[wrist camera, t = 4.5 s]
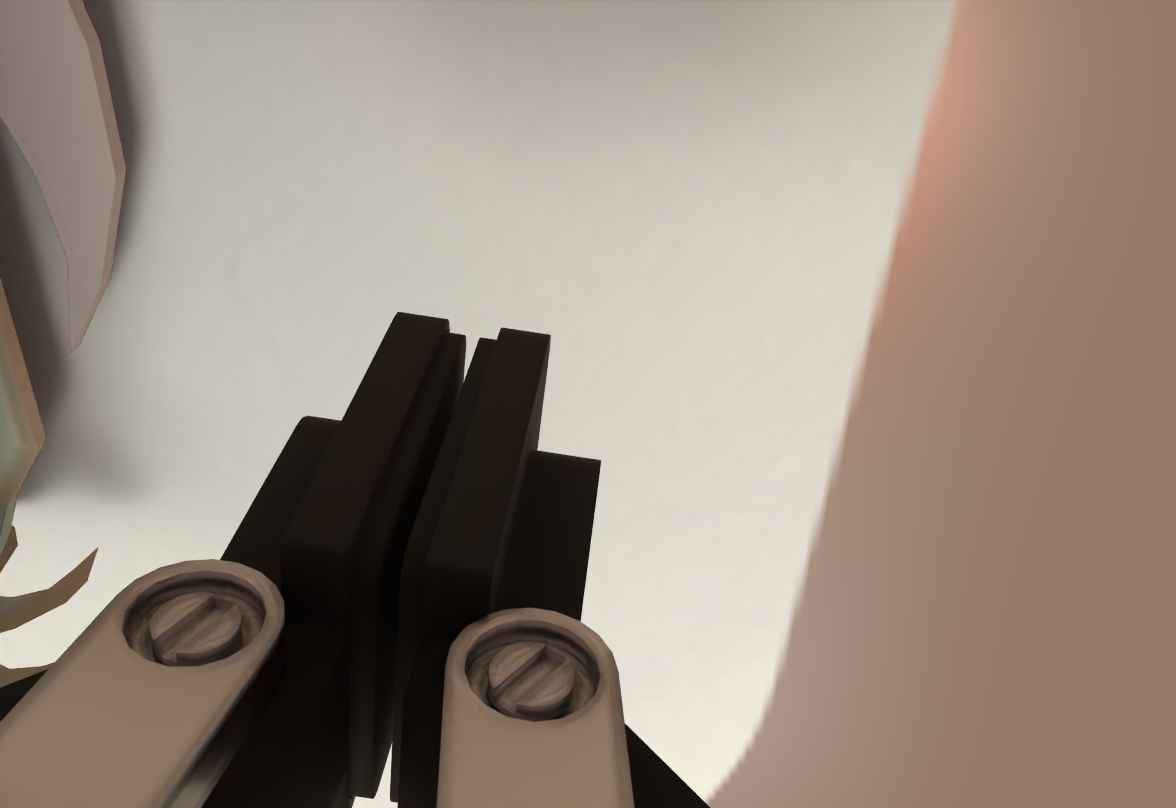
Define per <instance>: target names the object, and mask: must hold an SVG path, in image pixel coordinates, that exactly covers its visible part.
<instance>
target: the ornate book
mask: <svg viewBox="0 0 1176 808" xmlns="http://www.w3.org/2000/svg"><path fill="white" fill-rule="evenodd" d="M0 116H1V118H2V120H3V121H4V123H5V125H6V126H7V128H8V130H9V132H10V133H11V135H12V137H13V138H14V140H15V142H16V143H17V145H18V147H19V149H20V150H21V152H22V154H23V155H24V157H25V159H26V160H27V162H28V164H29V166H30V167H31V169H32V171H33V172H34V174H35V176H36V178H37V181H38V184H39V186H40V189H41V191H42V194H43V197H44V199H45V202H46V204H47V207H48V210H49V212H50V215H51V218H52V220H53V223H54V225H55V228H56V231H57V233H58V236H59V239H60V241H61V244H62V246H63V249H64V252H65V254H66V257H67V269H68V295H69V322H70V349H71V353H72V352H73V351H74V350H75V349H76V348H77V347H78V346H79V345H80V344H81V342H82V339H83V337H84V335H85V332H86V330H87V328H88V326H89V323H90V321H91V319H92V317H93V314H94V312H95V310H96V308H97V305H98V303H99V301H100V299H101V296H102V294H103V292H104V290H105V287H106V285H107V283H108V281H109V278H110V276H111V271H112V264H113V257H114V250H115V243H116V236H117V230H118V223H119V216H120V209H121V202H122V195H123V188H124V181H125V174H126V166H125V161H124V156H123V151H122V147H121V142H120V137H119V132H118V127H117V122H116V118H115V113H114V108H113V103H112V98H111V93H110V89H109V84H108V79H107V74H106V69H105V64H104V60H103V55H102V50H101V45H100V40H99V38H98V36H97V33H96V31H95V29H94V27H93V24H92V22H91V20H90V18H89V15H88V13H87V11H86V9H85V7H84V4H83V2H82V0H0ZM45 436H46V435H45V431H44V428H43V424H42V421H41V417H40V414H39V410H38V407H37V403H36V400H35V396H34V393H33V389H32V386H31V382H30V379H29V376H28V372H27V369H26V365H25V362H24V358H23V355H22V351H21V348H20V344H19V341H18V337H17V334H16V330H15V327H14V323H13V320H12V316H11V313H10V309H9V306H8V302H7V299H6V295H5V292H4V288H3V285H2V281H1V278H0V573H1V571H2V569H3V568H4V566H5V565H6V563H7V561H8V560H9V558H10V557H11V555H12V554H13V552H14V550H15V549H16V547H17V546H18V543H17V537H16V532H15V527H13V526H12V521H13V516H14V511H15V505H16V500H17V495H18V491H19V489H20V487H21V486H22V484H23V482H24V480H25V478H26V476H27V474H28V472H29V470H30V469H31V467H32V465H33V463H34V461H35V459H36V457H37V455H38V453H39V451H40V450H41V448H42V446H43V443H44V439H45ZM97 550H98V548H97V549H96V550H95V551H93V552H92V553H91V554H90V555H89V556H88V557H87V558H86V559H85V560H84V561H82V562H81V563H80V564H79V565H78V566H77V567H76V568H75V569H74V570H72V571H71V572H70V573H69V574H67V575H66V576H65V577H63V578H62V579H61V580H60V581H58V582H57V583H56V584H54V585H53V586H52V587H51V588H49V589H46V590H42V591H38V592H34V593H29V594H25V595H21V596H16V597H2V596H0V633H1V632H5V631H8V630H12V629H15V628H17V627H19V626H21V625H23V624H25V623H27V622H29V621H31V620H33V619H35V618H37V617H39V616H41V615H43V614H45V613H47V612H48V611H50V610H52V609H54V608H56V607H58V606H60V605H62V604H64V603H66V602H67V601H68V600H69V599H70V598H71V597H72V596H73V595H74V594H75V593H76V592H77V591H78V590H79V589H80V588H81V587H82V586H83V585H84V584H85V583H86V582H87V580H88V577H89V574H90V571H91V568H92V565H93V562H94V559H95V556H96V553H97ZM54 663H55V662H54ZM54 663H51V664H48V665H45V666H40V667H28V668H16V669H9V668H7V667H4V666H2V665H0V687H3V686H5V685H8V684H11V683H13V682H16V681H18V680H21V679H23V678H26V677H29V676H31V675H34V674H36V673H39V672H41V671H44V670H47V669H49V668H50V667H51V666H52V665H53V664H54Z"/></svg>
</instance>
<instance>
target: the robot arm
mask: <svg viewBox="0 0 1176 808" xmlns="http://www.w3.org/2000/svg"><path fill="white" fill-rule="evenodd" d="M550 339H551V335H548V334H541V333H535V332H528V331H521V330H515V329H508V328H501V329H500V332H499V335H498V338H497V340H494V339H487V338H480V339H479V341H478V344H477V347H476V349H475V352H474V355H473V358H472V361H471V364H470V366H469V369H468V372H467V375H466V378H465V381H464V383H463V380H464V366H465V353H466V336H465V335H461V334H454V333H450V328H449V321H448V319H442V318H436V317H429V316H423V315H416V314H409V313H403V312H397V314H396V315H395V317H394V319H393V321H392V323H391V324H390V326H389V328H388V330H387V332H386V334H385V336H384V338H383V340H382V342H381V344H380V346H379V348H378V350H377V352H376V354H375V356H374V358H373V360H372V362H371V364H370V366H369V368H368V370H367V372H366V374H365V376H364V378H363V380H362V382H361V383H360V385H359V387H358V389H357V391H356V393H355V395H354V397H353V399H352V401H351V403H350V405H349V407H348V409H347V411H346V413H345V415H344V417H343V419H342V421H339V420H333V419H326V418H319V417H313V416H306V417H303V418H302V419H301V420H300V422H299V423H298V424H297V426H296V427H295V429H294V431H293V433H292V434H291V436H290V438H289V440H288V441H287V443H286V445H285V447H284V448H283V450H282V452H281V454H280V455H279V457H278V459H277V461H276V462H275V464H274V466H273V468H272V469H271V471H270V473H269V475H268V477H267V478H266V480H265V482H264V484H263V485H262V487H261V489H260V491H259V492H258V494H257V496H256V498H255V499H254V501H253V503H252V505H251V506H250V508H249V510H248V512H247V513H246V515H245V517H244V519H243V520H242V522H241V524H240V526H239V527H238V529H237V531H236V533H235V534H234V536H233V538H232V540H231V542H230V543H229V545H228V547H227V549H226V550H225V552H224V554H223V556H222V557H221V559H220V560H215V559H209V560H192V561H184V562H180V563H176V564H172V565H168V566H164V567H160V568H158V569H156V570H154V571H152V572H150V573H148V574H146V575H144V576H142V577H139V578H137V579H136V580H134V581H133V582H132V583H131V584H129V585H128V586H127V587H126V588H125V589H123V590H122V591H121V592H120V593H119V594H117V595H116V596H115V597H114V599H113V600H112V601H111V602H110V603H109V604H108V605H107V606H106V607H105V608H104V609H103V611H102V612H101V613H100V614H99V615H98V616H97V617H96V618H95V619H94V620H93V621H92V623H91V624H90V625H89V626H88V627H87V628H86V629H85V630H84V631H83V632H82V633H81V635H80V636H79V637H78V638H77V639H76V640H75V641H74V642H73V643H72V644H71V645H70V647H69V648H68V649H67V650H66V651H65V652H64V653H63V654H62V655H61V656H60V658H59V659H58V660H57V661H56V662H55V663H54V664H53V665H52V666H51V667H50V668H49V669H47V670H44V671H41V672H39V673H36V674H34V675H31V676H29V677H26V678H23V679H21V680H18V681H16V682H13V683H11V684H8V685H5V686H3V687H0V808H352V806H353V802H354V799H355V796H358V797H365V798H371V799H373V798H374V797H375V795H376V793H377V790H378V787H379V784H380V781H381V777H382V774H383V771H384V767H385V764H386V761H387V757H388V754H389V750H390V747H391V744H392V761H391V784H390V800H391V802H397V803H398V808H710V807H709V806H708V805H707V804H706V803H705V802H704V801H703V800H702V799H701V798H700V797H699V796H698V795H697V794H696V793H695V792H694V791H693V790H692V789H691V788H690V787H689V786H688V785H687V784H686V783H685V782H684V781H683V780H682V779H681V778H680V777H679V776H678V775H677V774H676V773H675V772H674V771H673V770H672V769H671V768H670V767H669V766H668V765H667V764H666V763H665V762H664V761H663V760H662V759H661V758H659V757H658V756H657V755H656V754H655V753H654V752H653V751H652V750H651V749H650V748H649V747H648V746H647V745H646V744H645V743H644V742H643V741H642V740H641V739H640V738H639V737H638V736H637V735H636V734H635V733H634V732H633V731H632V730H631V729H630V728H629V727H628V726H627V725H626V724H625V723H624V715H623V707H622V698H621V689H620V681H619V672H618V669H617V666H616V663H615V660H614V656H613V653H612V651H611V650H610V649H609V647H608V646H607V645H606V644H605V642H604V641H603V640H602V638H601V637H600V636H599V635H598V634H597V633H596V632H594V631H593V630H591V629H590V628H589V627H587V626H586V625H584V624H583V623H582V622H580V621H581V613H582V605H583V598H584V590H585V582H586V575H587V567H588V559H589V551H590V544H591V536H592V528H593V520H594V513H595V505H596V497H597V489H598V482H599V474H600V466H601V460H596V459H589V458H582V457H576V456H569V455H563V454H556V453H550V452H543V451H537V448H538V440H539V432H540V424H541V415H542V407H543V399H544V391H545V383H546V375H547V367H548V358H549V350H550Z"/></svg>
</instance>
